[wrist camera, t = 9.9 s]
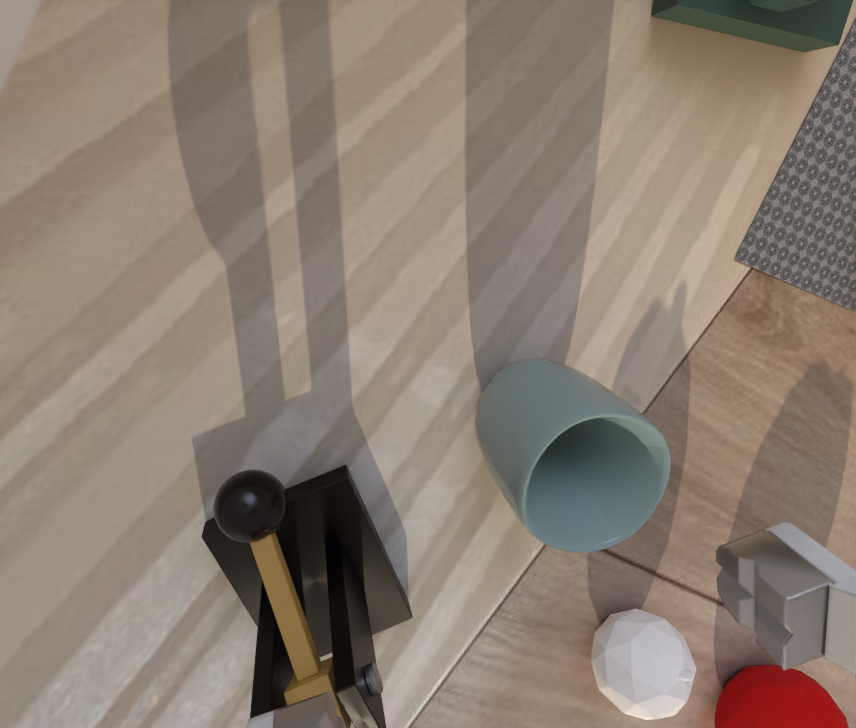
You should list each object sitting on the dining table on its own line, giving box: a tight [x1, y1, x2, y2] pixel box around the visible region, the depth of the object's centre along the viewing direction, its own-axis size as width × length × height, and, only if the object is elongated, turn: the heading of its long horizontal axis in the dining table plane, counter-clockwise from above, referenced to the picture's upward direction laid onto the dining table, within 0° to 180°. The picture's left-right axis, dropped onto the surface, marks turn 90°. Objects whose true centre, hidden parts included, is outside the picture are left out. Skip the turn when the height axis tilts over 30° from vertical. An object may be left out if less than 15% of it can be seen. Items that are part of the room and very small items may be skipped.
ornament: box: [591, 609, 696, 720], centre depth 41 cm, size 7×7×8 cm
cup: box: [475, 359, 671, 553], centre depth 31 cm, size 8×8×10 cm
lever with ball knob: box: [214, 470, 351, 728], centre depth 28 cm, size 13×4×4 cm, turn 18°
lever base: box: [202, 465, 412, 728], centre depth 31 cm, size 12×9×12 cm
